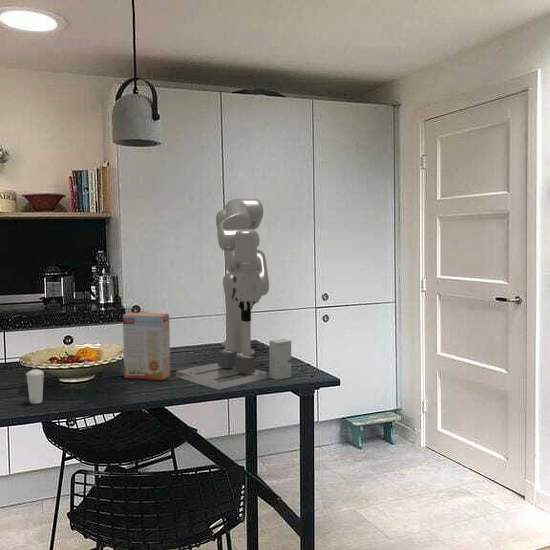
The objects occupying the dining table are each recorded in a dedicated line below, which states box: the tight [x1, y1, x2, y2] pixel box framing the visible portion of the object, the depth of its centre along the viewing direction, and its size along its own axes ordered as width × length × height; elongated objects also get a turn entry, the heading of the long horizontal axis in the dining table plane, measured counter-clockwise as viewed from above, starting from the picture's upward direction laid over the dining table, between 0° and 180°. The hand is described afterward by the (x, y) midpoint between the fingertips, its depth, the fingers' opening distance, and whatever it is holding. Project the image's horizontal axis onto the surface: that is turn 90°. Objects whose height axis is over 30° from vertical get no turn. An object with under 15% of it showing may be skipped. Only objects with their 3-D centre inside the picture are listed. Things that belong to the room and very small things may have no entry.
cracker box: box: [122, 312, 171, 381], centre depth 199 cm, size 14×6×21 cm, turn 72°
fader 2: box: [235, 355, 256, 374], centre depth 196 cm, size 5×4×5 cm
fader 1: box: [217, 349, 237, 369], centre depth 204 cm, size 5×4×5 cm
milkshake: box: [25, 368, 45, 405], centre depth 171 cm, size 4×5×10 cm
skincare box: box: [268, 338, 292, 381], centre depth 198 cm, size 6×4×12 cm
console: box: [175, 362, 268, 391], centre depth 199 cm, size 22×20×2 cm
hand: (246, 321), depth 209 cm, fingers closed
